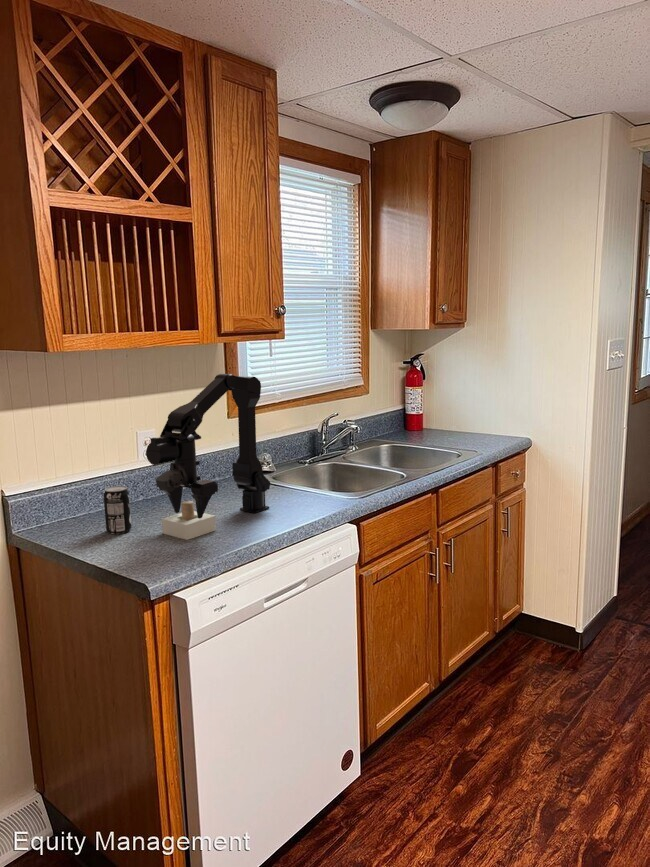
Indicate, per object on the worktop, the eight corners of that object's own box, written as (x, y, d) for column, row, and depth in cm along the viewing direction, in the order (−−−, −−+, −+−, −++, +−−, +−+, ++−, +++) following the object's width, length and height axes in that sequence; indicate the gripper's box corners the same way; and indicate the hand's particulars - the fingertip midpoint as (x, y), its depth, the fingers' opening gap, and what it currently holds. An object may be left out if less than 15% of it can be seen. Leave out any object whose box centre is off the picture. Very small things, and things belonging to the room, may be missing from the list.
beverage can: (122, 526, 186) (119, 484, 184) (136, 530, 181) (133, 487, 179) (101, 532, 181) (98, 489, 179) (115, 536, 176) (112, 492, 174)
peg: (189, 529, 181) (188, 500, 180) (197, 531, 179) (196, 502, 178) (180, 532, 179) (178, 503, 177) (188, 534, 177) (186, 505, 175)
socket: (191, 523, 186) (190, 510, 185) (216, 530, 180) (215, 515, 179) (162, 533, 178) (161, 518, 178) (187, 539, 172) (186, 525, 171)
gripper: (137, 459, 175) (141, 517, 178) (184, 467, 164) (188, 529, 166) (171, 452, 184) (175, 507, 186) (217, 459, 172) (221, 518, 175)
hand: (188, 515), depth 178 cm, fingers open, 9 cm apart
